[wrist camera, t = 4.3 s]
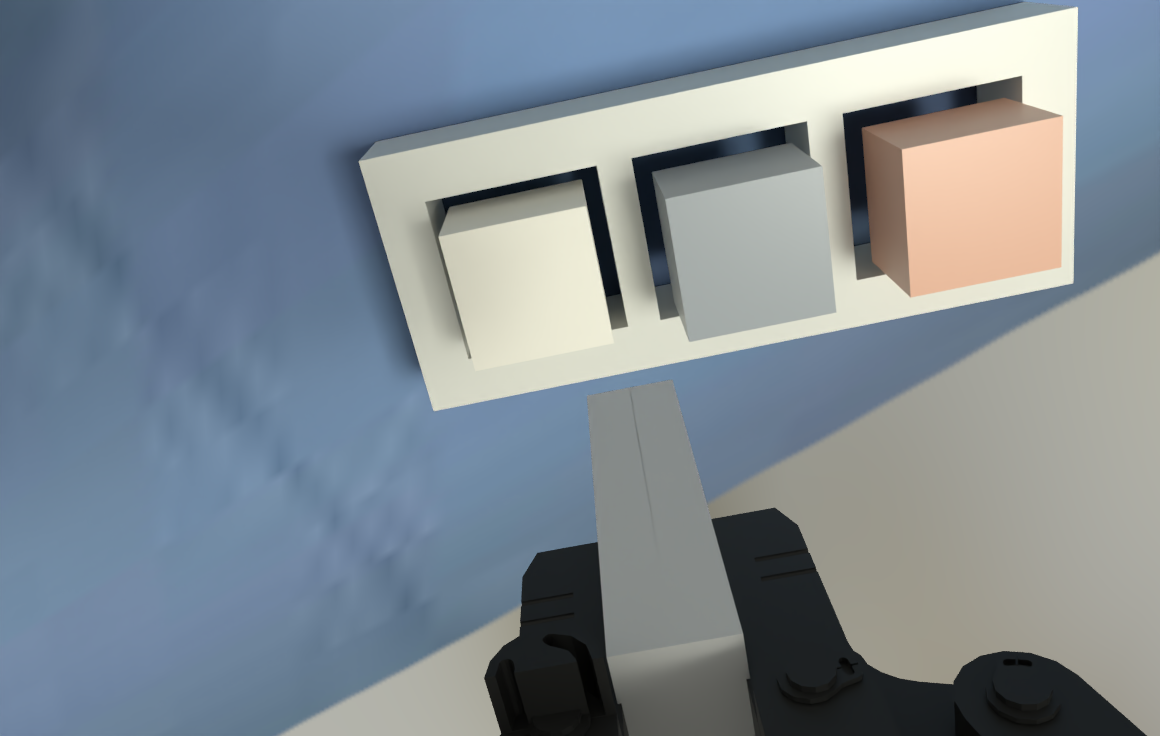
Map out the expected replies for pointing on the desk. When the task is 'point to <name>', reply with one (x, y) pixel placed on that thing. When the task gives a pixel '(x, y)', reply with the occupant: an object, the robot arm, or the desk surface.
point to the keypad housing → (693, 116)
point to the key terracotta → (965, 195)
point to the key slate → (746, 240)
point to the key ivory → (526, 275)
